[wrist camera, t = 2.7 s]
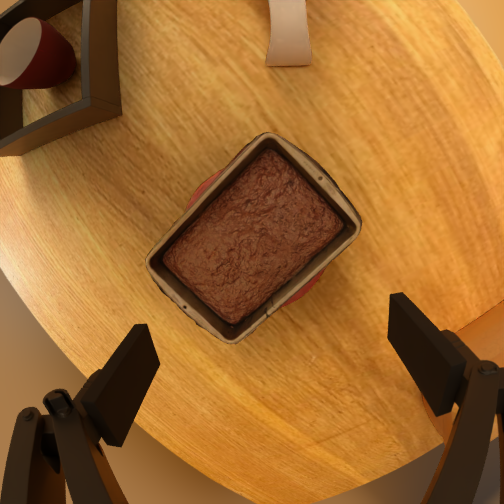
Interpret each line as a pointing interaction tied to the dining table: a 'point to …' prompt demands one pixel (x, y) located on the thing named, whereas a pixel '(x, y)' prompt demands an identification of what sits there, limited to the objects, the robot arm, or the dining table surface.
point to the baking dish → (253, 238)
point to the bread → (485, 348)
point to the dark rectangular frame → (92, 77)
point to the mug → (35, 56)
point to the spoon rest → (288, 34)
